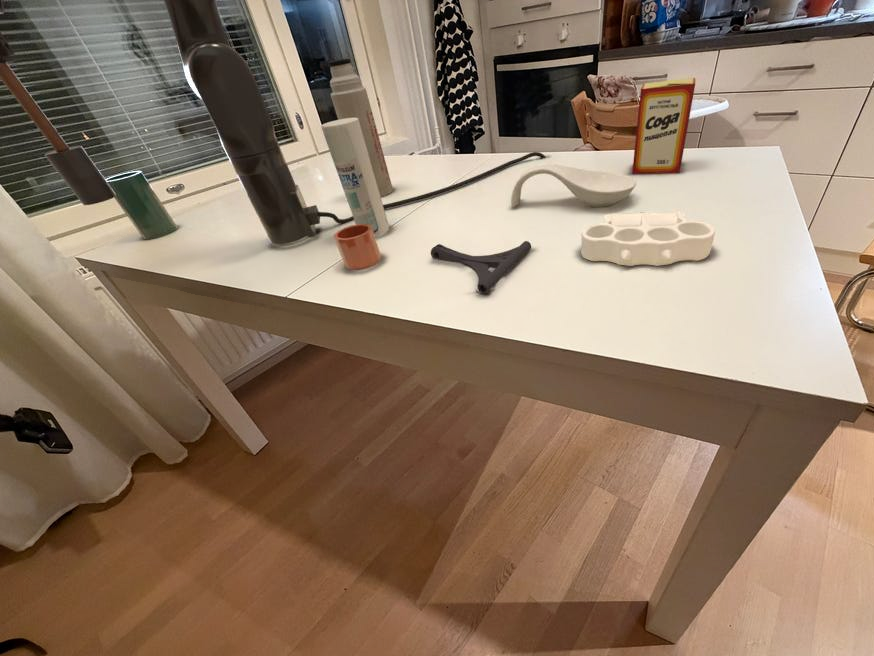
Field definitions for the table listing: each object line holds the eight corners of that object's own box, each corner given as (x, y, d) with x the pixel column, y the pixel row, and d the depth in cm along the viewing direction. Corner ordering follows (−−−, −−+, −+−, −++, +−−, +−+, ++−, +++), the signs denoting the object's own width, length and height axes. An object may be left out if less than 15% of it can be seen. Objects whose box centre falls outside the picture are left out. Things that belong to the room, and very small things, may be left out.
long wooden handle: (121, 192, 62) (-9, 9, 48) (109, 200, 59) (-34, 6, 45) (91, 199, 62) (-49, 15, 48) (77, 207, 59) (-77, 12, 44)
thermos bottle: (397, 186, 104) (363, 55, 87) (386, 197, 99) (346, 58, 81) (370, 189, 106) (331, 60, 88) (357, 199, 101) (313, 64, 83)
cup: (181, 224, 106) (146, 168, 97) (172, 234, 100) (133, 176, 91) (150, 231, 105) (111, 176, 96) (138, 241, 99) (96, 184, 90)
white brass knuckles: (700, 226, 63) (716, 270, 52) (584, 229, 68) (578, 270, 58) (705, 205, 61) (723, 247, 50) (585, 210, 66) (578, 249, 55)
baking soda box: (632, 174, 86) (641, 86, 76) (635, 165, 91) (644, 81, 81) (679, 172, 83) (695, 81, 73) (680, 163, 87) (695, 75, 77)
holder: (380, 252, 73) (370, 220, 69) (383, 266, 68) (373, 233, 64) (346, 261, 72) (334, 229, 68) (347, 276, 67) (333, 243, 63)
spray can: (352, 238, 80) (312, 127, 67) (372, 225, 84) (337, 118, 72) (378, 240, 77) (341, 125, 65) (396, 227, 82) (365, 116, 69)
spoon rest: (633, 189, 79) (638, 150, 75) (634, 212, 71) (639, 169, 66) (518, 195, 86) (516, 159, 81) (506, 216, 78) (503, 178, 73)
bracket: (457, 242, 72) (454, 227, 70) (531, 250, 65) (530, 234, 63) (408, 280, 63) (404, 264, 61) (488, 295, 56) (485, 278, 54)
